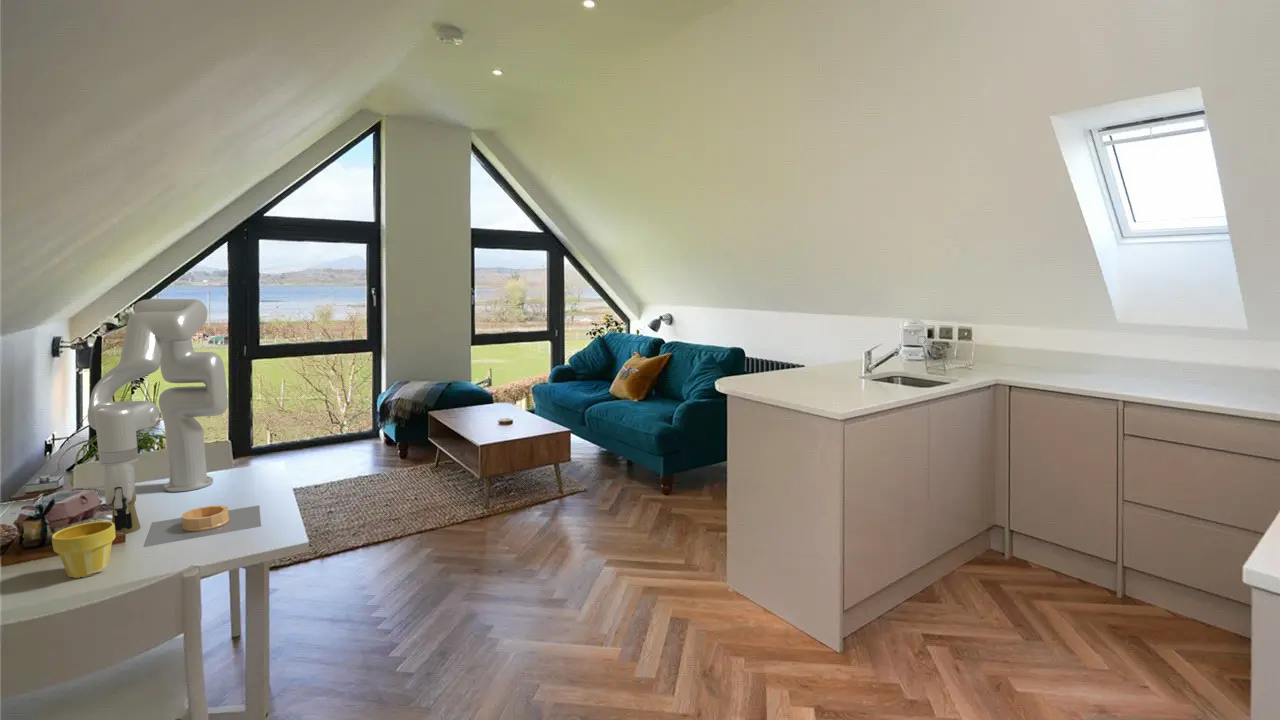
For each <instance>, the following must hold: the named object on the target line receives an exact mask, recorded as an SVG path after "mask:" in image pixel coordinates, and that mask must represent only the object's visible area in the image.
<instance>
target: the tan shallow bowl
mask: <svg viewBox="0 0 1280 720" xmlns="http://www.w3.org/2000/svg"><path fill="white" fill-rule="evenodd" d="M228 510H229V507H228V506H225V505H208V506H207V505H206V506H201V507H197V508H193V509H190V510H188V511H186V512H184V513H183V514H181V518H182V527H183V530H184V531H187V532H200V531H207V530H212V529H215V528H218V527H221V526H223V525H225V524H227V523H228V522H229V514H228Z"/></svg>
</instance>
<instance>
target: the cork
mask: <svg viewBox="0 0 1280 720" xmlns="http://www.w3.org/2000/svg"><path fill="white" fill-rule="evenodd" d="M136 500H137V494H136V492H135V493H133V496H132V499H131V501H129V513H130V512H131V518H132V528H130V529H127V528H122V529H121V530H118V531H117V530H116V529H115V532H123V533H124V534H123V535H128V534H132V533H134V532H137V531H140V529H141V525H140V521H139V517H138V513H137V509H136V505H135V502H136ZM125 501H126V499H123V502H125ZM124 505H125V508H126V504H123V506H124ZM109 506H111V507H112V516H111V522H113V523H114V525H115V519H114V515H115V513H114V498H113V501H112V503H110V505H109Z"/></svg>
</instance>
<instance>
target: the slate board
mask: <svg viewBox="0 0 1280 720" xmlns="http://www.w3.org/2000/svg"><path fill="white" fill-rule="evenodd" d="M228 514H229V522H228V523H227V524H225V525H223V526H221V527H218V528H215V529H212V530H207V531H200V532H187V531H184V530H183V527H182V517H178V518H172V519H166V520H159V521H153V522H151V525H150V527H149V530H148V534H147V536H146V539H145V542H144V545H143V548H146V547H153V546H158V545H163V544H170V543H174V542H175V543H176V542H180V541H186V540H191V539H199V538H202V537H203V538H204V537H210V536H215V535H219V534H225V533H230V532H238V531H243V530H247V529H248V530H249V529H255V528H259V527H262V521H261V519H262V518H261V510H260V505H252V506H246V507H240V508H234V509H228Z"/></svg>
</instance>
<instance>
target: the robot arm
mask: <svg viewBox="0 0 1280 720" xmlns="http://www.w3.org/2000/svg"><path fill="white" fill-rule="evenodd" d="M133 309H134V314H132V315H131V316H129V318H128V321H127V324H126V327H125V334H124V339H123V344H122V349H121V355H120V359H119V362H118V363H117V365H115V366H114V367H113V368H111V369H110V370H109V371H107V373H105V374H104V375H103V376H102V377H101V378H100V379H99V380H98V382H97V383H96V384H95V385H94V387H93V389H92V391H91V395H90V399H89V404H88V408H87V422H88V424H89V427H90V428H92V429H93V430H95V432H96V442H97V453H98V461H99V462H98V464H99V465H100V466H104V467H103V468H104V469H103V471H104V472H103V473H104V474H103V477H104V479H103V481H104V498H105V502H104V503H105V505H107V506H111V505H110V503H112V501H113V498H114V513H115V515H114V519H115V529H116V530H117V531H118V530H121V529H122V528H127V529H130V528H132V518H131V512H130V513H129V501H131V499H132V496H133V493H135V494H136V480H135V479H136V477H135V467H134V462H137V461H138V460H139V452H138V451H139V449H138V439H137V438H138V437H137V431H142V430H147V429H151V428H152V427H154V425H156V424H157V423H158V421H159V419H160V415H161V416H162V420H163V425H164V426H163V427H164V432H165V441H166V453H167V454H166V455H167V466H168V476H169V479H168V480H169V482H168V481H167V482H166V483H164V485H163V490H164V491H167V492H173V493H175V492H176V493H177V492H187V491H193V490H199V489H203V488H205V487H208V486H210V485H212V484H213V482H214V478H213V477H211V476H208V473H207V472H208V471H207V460H206V449H205V437H204V434H205V432H204V429H203V427H202V425H201V423H200V422H199V421H198V420H197V419H196V418H197V417H215V416H216V417H217V416H221V415H223V414H224V413H226V411H227V409H228V405H229V400H228V399H229V398H228V390H227V389H228V388H227V381H226V380H227V379H226V372H225V364H224V361H223V359H222V357H221V355H219V354H218V353H215V352H212V351H195V350H194V347H193V341H192V339H193V337H194V336H195V335H196V334H197V333H198V331H200V330H201V329H202V328H203V327H204V325H205V324H206V322H207V319H208V309H207V306H206V305H205V303H204V302H203V301H201V300H199V299H194V298H193V299H192V298H190V299H189V298H149V299H142V300H140V301H139V300H138V301H137V302H136V303H135V304H134V308H133ZM159 368H160V373H161V377H162V378H163V380H164V381H166V383H169V384H170V383H171V384H196V383H197V384H198V383H199V384H200V383H201V384H204V385H202V386H201V385H198V386H197V385H196V386H194V385H192V386H191V385H190V386H188V385H187V386H174V387H170V388H169V387H168V388H166V389H165V390H163V391H162V392H161V393H160V395H159V397H158V405H156V403H154V402H152V401H147V400H130V401H129V400H128V401H127V400H124V401H120V400H119V401H112V398H113V397H114V395H115V394H116V392H117V391H118V390H120V389H121V388H122V387H124V386H126V385H127V384H129V383H131V382H134V381H137V380H139V379H140V378H143V377H146V376H148V375H151V374H153V373H155V372H157V371H158V370H159ZM158 406H159V407H158ZM160 413H161V414H160ZM123 499H126V501H125V502H123ZM123 504H126V508H125V505H124V506H123Z"/></svg>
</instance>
